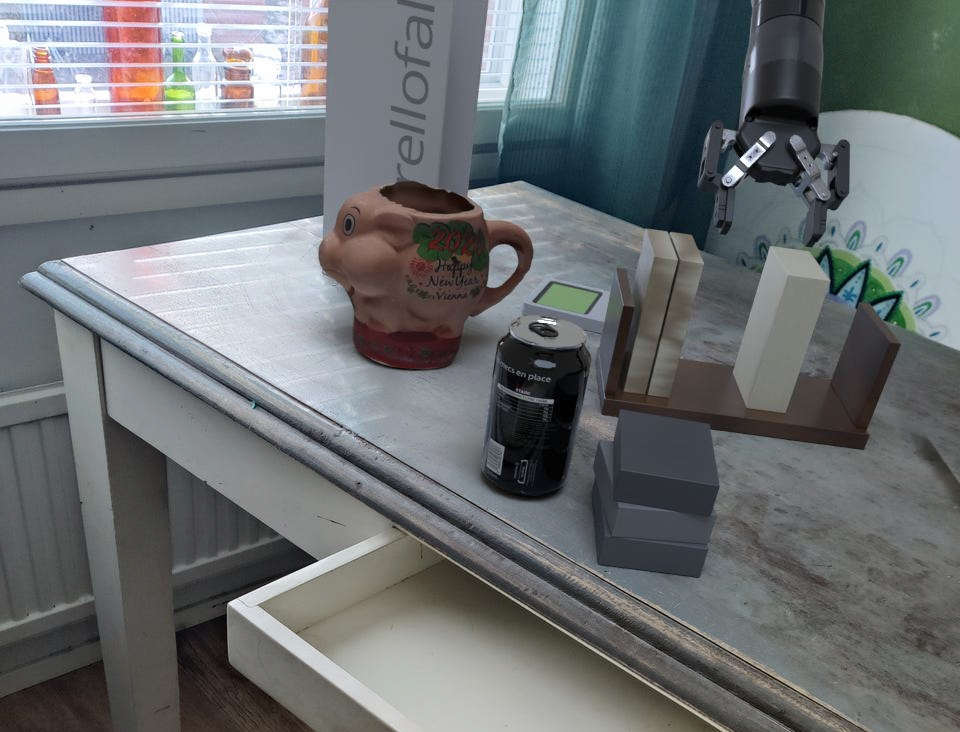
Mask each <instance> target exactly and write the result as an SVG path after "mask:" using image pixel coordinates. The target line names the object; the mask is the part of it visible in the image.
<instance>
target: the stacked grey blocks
mask: <svg viewBox="0 0 960 732" xmlns="http://www.w3.org/2000/svg"><path fill="white" fill-rule="evenodd" d="M617 417H618V418H617V421H616V422H617V423H616V426H615V431H614V435H613V440H607V439H605V440H604V439H598V442H597V447H596V451H595V456H594V459H593V460H594V461H593V464H592V470H593V473H594V479H593V485H592V489H591V500H592V501H591V502H592V503H591V504H592V511H593V512H592V513H593V524H594V533H595V544H596V545H595V546H596V554H597V564H598V565H600V566H610V567H617V568H622V569H623V568H624V569H631V570H641V571H646V572H647V571H648V572H654V573H655V572H656V573H662V574H663V573H664V574H671V575H679V576H686V577H693V578H694V577H695V578H700V577H701V575H702V571H703V568H704V565H705V562H706V559H707V555H708V552H709V546H708V544H709V543H710V538H711V535H712V532H713V529H714V526H715V523H716V520H717V516H718V514H717V512H716V509H715V503H716V500H717V497H718V495H719V490H720V488H721V485H720V484H721V483H720V477H719V472H718V468H717V460H716V457H715V456H716V455H715V454H716V453H715V448H714V443H713V436H712V431H711V430H712V429H710V424H706V423H700V422H694V421H688V420H682V419H676V418H670V417H664V416H657V415H651V414H645V413H639V412H633V411H627V410H620V413H619V416H617Z"/></svg>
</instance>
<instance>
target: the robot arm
mask: <svg viewBox="0 0 960 732" xmlns="http://www.w3.org/2000/svg"><path fill="white" fill-rule="evenodd" d="M750 3H751V8H752V10H751V16H750V17H751V18H750V28H749V38H748V47H747V51H746V55H745V60H744V67H743V72H742V76H741V83H742V84H741V85H742V88H741V99H740V110H739V121H738V129H737V130H734V129H728V128H725V124H724V122H722V121H721V120H719V119H718V120H714V121H713V122H712V123H711V126H710V128H709V130H708V132H707V134H706V136H705V139H704V142H703V149H702V154H701V161H700V168H699V174H698V179H697V189H698V190H699V191H700V192H707V191H708V192H709V193H711V194H713V195H714V199H715V201H714V202H715V203H714V212H713V222H712V223H713V226H714V228H716V229H718V235H723V236H727V234H728V233H729V232H730V230H731V228H732V225H733V220H734V208H735V198H736V189H738V188H739V187H740V186H741V185H742V184H743V183H744V182H745V181H746V180H747V179H749V177H750V178H752V179H753V180H754V183H759V184H767V183H768V184H769V183H771V184H774V185H776V186H778V187H779V186H780V187H787V185H789V186H790V188H791V190H792V191H793V193H794V195H795V196H796V197H797V198H801V199H802V201H803V202H804V204H805V206H806V208H807V209H808V211H806V215H805V217H806V218H805V226H804V227H805V228H804V229H805V230H804V239H803V247H805V248H811V249H812V248H813V247H814V246H815V245H816V243H819V242H820V240H821V239H822V237H823V236H824V234H825V233H826V230H827V219H828V218H827V217H828V210H830V211H834V212H835V211H837V210H838V209H839V208H840V206H841V204H842V203H843V202H844V200H845V199H846V198H847V197H849V194H850V181H851V179H850V176H851V175H850V174H851V173H850V170H851V166H850V165H851V144H850V142H849V141H848V140H847V139H845V138H844V139H840V140H839V141H838V142H837V143H836V144H830V143H822V142H821V140H820V137H819V134H818V129H819V128H818V127H819V122H820V121H819V120H820V108H821V95H822V84H823V72H824V71H823V70H824V43H823V37H824V36H823V35H824V25H825V24H824V22H825V13H826V12H825V11H826V0H750ZM729 146H732V150H733V151H734V153H735V155H736V156H737V158H738V161H736V163H735V164H734V165H733V166H732V168H730V170H728V171H727V172H726V174H724V175H723V174H722V173H720V172H718V167H719V163H720V162H719V161H720V155H721V154H724V152H725V151H726V149H727V147H729ZM816 159H819V160H821V162H822V166H823V167H822V168H823V170H824V171H827V176H826V177H827V180H826V181H827V182H826V183H825V182H824V180H823V178H822V172H821V169H820V168H819V166H818V165H817V163H816ZM802 174H803V177H802Z"/></svg>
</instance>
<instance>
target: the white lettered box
mask: <svg viewBox="0 0 960 732" xmlns="http://www.w3.org/2000/svg"><path fill="white" fill-rule="evenodd" d="M489 1H490V0H327V35H326V36H327V37H326V38H327V39H326V79H325V81H326V82H325V83H326V84H325V85H326V86H325V122H324V124H325V125H324V126H325V127H324V128H325V129H324V164H323V165H324V169H323V170H324V171H323V207H322V208H323V213H322V214H323V215H322V240H323V239H324V238H325V237H326V236H327V235H328V234H329V233H330V232H331V231H332V230H333V228H334V227H335V224H336V219H337V215H338V212H339V210H340V209H341V207H342V205H343V204H344V202H345V201H346V200H347V199H348V198H349V197H351V196H353V195H355V194H358V193H361V192H365V191H368V190H370V189H371V188H373V187H375V186H379V185H385V184H390V183H396V182H402V181H416V182H418V183H420V184H425V185H428V186H432V187H437V188H442V189H446V190H450V191H452V192H454V193H457V194H460V195H464V196H467V197H469V196H468V195H469V184H470V176H471V167H472V158H473V148H474V139H475V129H476V122H477V112H478V102H479V93H480V83H481V76H482V75H481V74H482V66H483V57H484V55H483V54H484V49H485V48H484V47H485V37H486V30H487V29H486V28H487V19H488V10H489ZM323 273H325V274H324V275H326V274H327V273H326V272H325V271H324V270H323V269H322V268H321V274H323ZM326 276H328V274H327V275H326Z"/></svg>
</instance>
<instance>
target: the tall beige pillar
mask: <svg viewBox="0 0 960 732" xmlns="http://www.w3.org/2000/svg"><path fill="white" fill-rule="evenodd" d="M830 284H831V279H830V278H829V277H828V275H827V274H826V272H825V271H824V269H823V268H822V266H820V263H818V261H817V260H816V259H815V257H814V256H813V255H812V253H811V251H809V250H803V249H802V250H801V249H795V248H789V247H781V246H773V245H770V246H769V248H768V252H767V256H766V259H765V263H764V265H763V269H762V272H761V275H760V279H759V283H758V286H757V289H756V291H755V292H756V293H755V296H754V299H753V302H752V306H751V309H750V312H749V313H750V314H749V317H748V320H747V323H746V327H745V329H744V334H743V336H742V340H741V342H740V346H739V349H738V353H737V357H736V359H735V363H734V365H733V366H734V370H733V375H734V377H735V380H736V382H737V385H738V387H739V390H740V392H741V395H742V397H743V400H744V402H745V405H746V407H747V408H750V409H757V410H765V411H772V412H779V413H786V410H787V407H788V404H789V401H790V398H791V395H792V393H793V390H794V387H795V384H796V381H797V378H798V375H800V371H801V369H802V366H803V363H804V360H805V358H806V355H807V351H808V349H809V346H810V343H811V340H812V336H813V333H814V331H815V327H816V325H817V322H818V319H819V316H820V313H821V310H822V307H823V304H824V301H825V298H826V297H827V296H826V295H827V293H828V290H829V288H830V287H829V286H830Z"/></svg>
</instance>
